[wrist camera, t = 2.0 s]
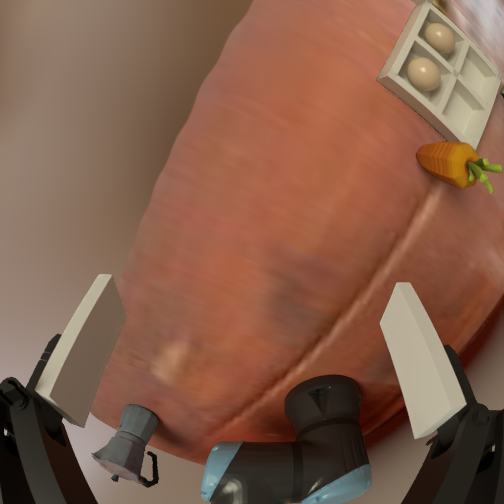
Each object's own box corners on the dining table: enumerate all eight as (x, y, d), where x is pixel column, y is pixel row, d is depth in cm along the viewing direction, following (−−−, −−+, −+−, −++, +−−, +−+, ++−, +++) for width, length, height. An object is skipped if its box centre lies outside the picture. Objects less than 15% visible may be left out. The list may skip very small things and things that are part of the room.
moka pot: (117, 392, 51) (87, 463, 32) (179, 421, 54) (162, 494, 35) (110, 407, 54) (84, 471, 36) (166, 434, 57) (149, 498, 39)
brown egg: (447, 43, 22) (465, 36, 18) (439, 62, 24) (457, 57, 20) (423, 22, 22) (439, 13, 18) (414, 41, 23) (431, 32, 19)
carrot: (433, 142, 29) (511, 155, 16) (428, 176, 31) (503, 205, 18) (405, 132, 29) (481, 139, 16) (399, 168, 31) (473, 194, 18)
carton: (488, 78, 24) (501, 76, 21) (458, 152, 30) (473, 155, 26) (414, 7, 21) (425, 0, 18) (375, 80, 27) (387, 75, 24)
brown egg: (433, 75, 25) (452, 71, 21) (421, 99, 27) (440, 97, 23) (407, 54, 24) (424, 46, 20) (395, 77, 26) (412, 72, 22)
